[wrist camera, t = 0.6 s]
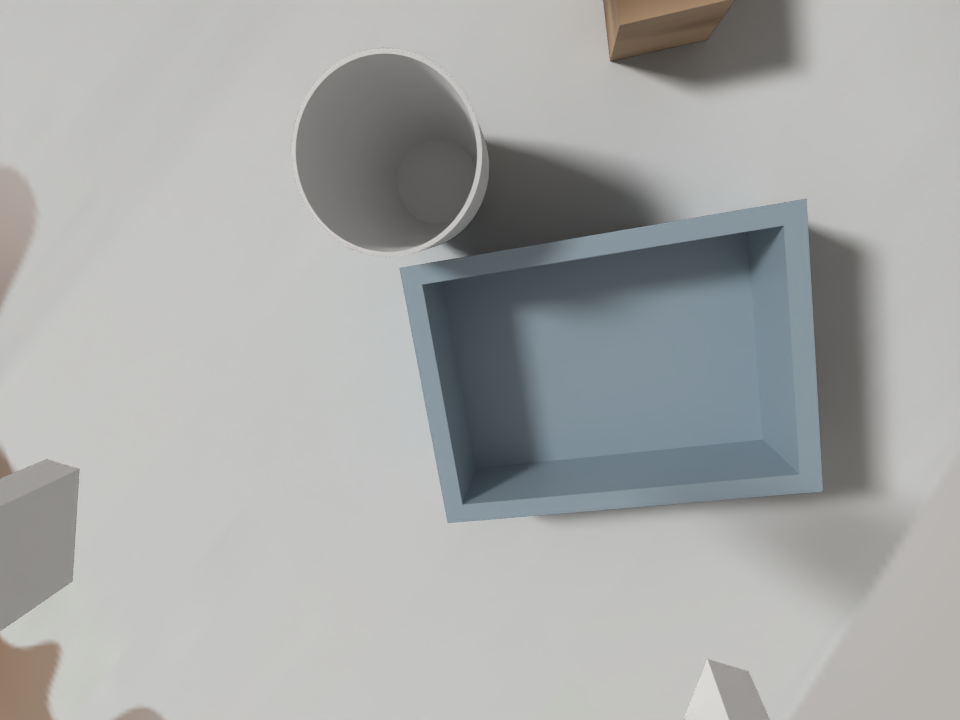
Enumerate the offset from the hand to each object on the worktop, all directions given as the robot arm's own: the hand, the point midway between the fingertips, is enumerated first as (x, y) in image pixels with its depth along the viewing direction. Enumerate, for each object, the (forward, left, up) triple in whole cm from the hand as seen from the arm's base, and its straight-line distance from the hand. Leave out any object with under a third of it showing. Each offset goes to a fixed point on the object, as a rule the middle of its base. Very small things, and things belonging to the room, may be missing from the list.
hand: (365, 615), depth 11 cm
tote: (0, +6, -24) cm, 24 cm away
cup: (-11, -2, -24) cm, 26 cm away
